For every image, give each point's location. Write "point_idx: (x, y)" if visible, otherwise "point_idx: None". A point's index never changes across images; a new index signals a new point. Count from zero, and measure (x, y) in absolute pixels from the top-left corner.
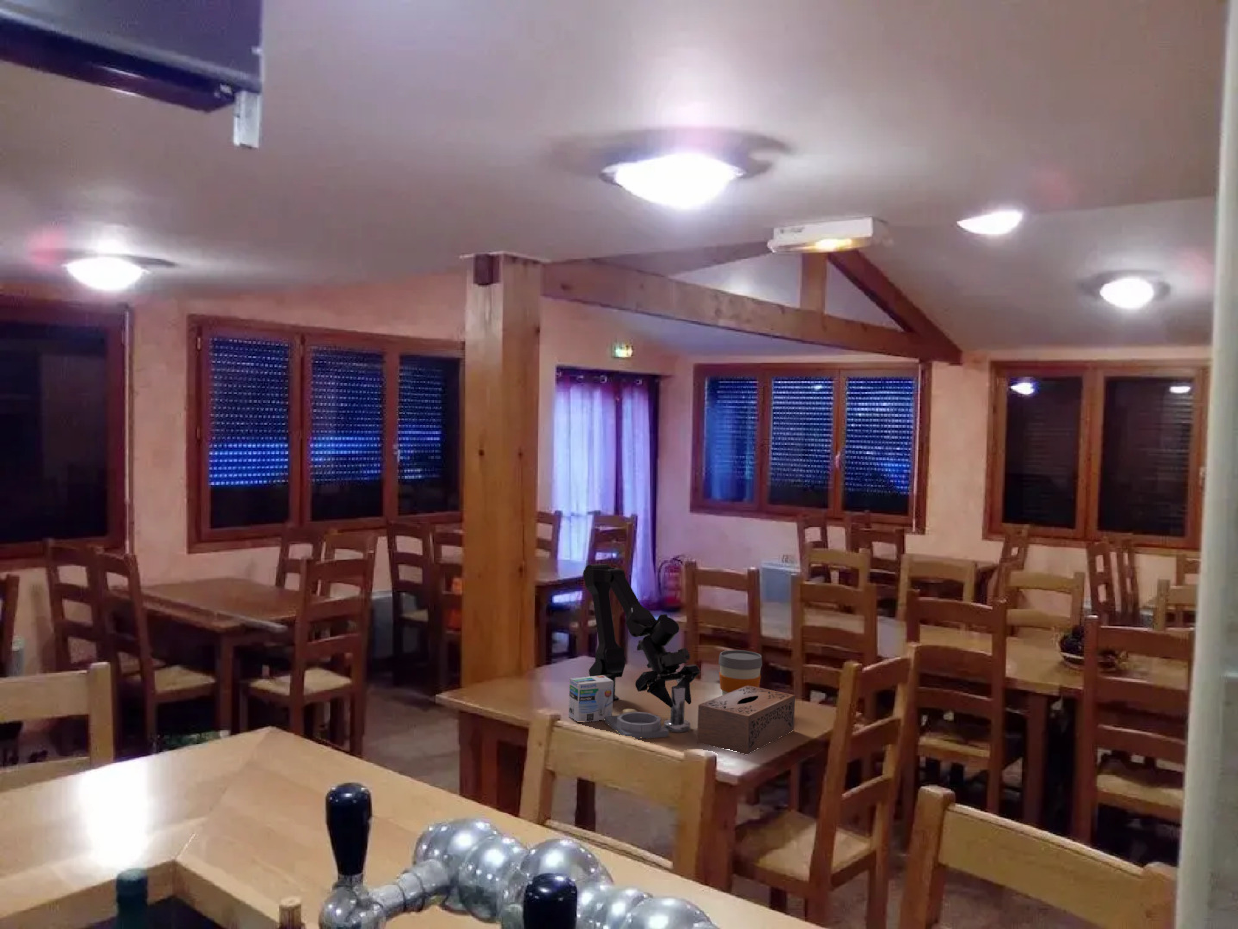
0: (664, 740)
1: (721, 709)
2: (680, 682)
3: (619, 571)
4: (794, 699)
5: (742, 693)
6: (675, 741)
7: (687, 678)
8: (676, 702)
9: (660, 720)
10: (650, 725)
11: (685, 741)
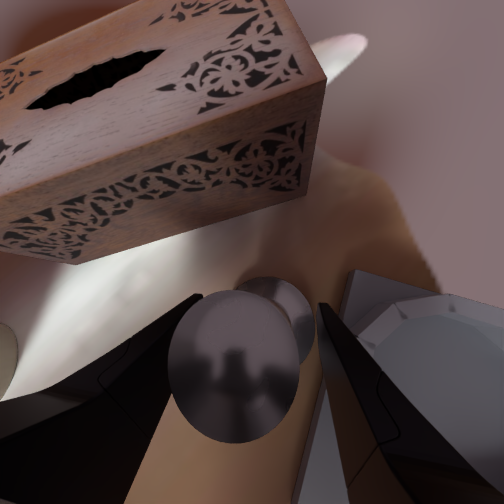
0: (384, 252)
1: (279, 8)
2: (73, 497)
3: None
4: None
5: (24, 149)
6: (356, 229)
7: (5, 423)
8: (285, 313)
9: (366, 325)
10: (455, 297)
11: (328, 215)
